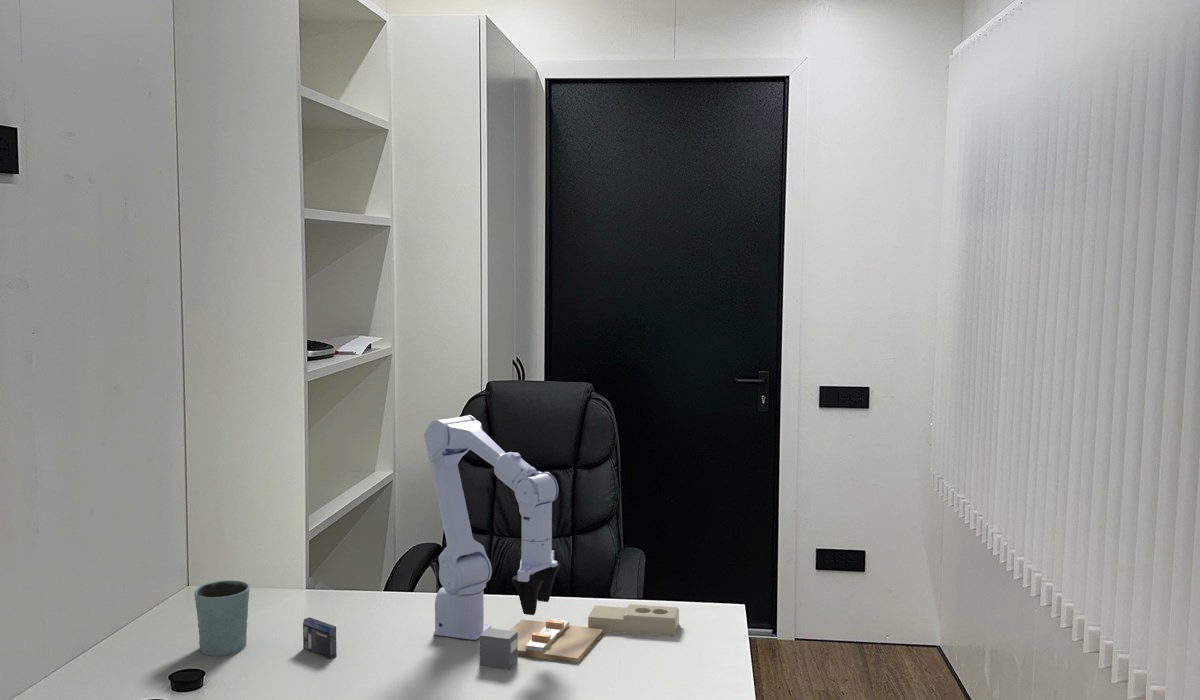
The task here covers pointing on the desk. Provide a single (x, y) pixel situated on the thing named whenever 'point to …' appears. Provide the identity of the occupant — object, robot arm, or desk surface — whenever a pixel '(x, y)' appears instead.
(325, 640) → the mini dv tape
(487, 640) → the block
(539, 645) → the din rail
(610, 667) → the desk surface
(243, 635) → the teal cup
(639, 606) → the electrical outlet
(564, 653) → the mounting board
